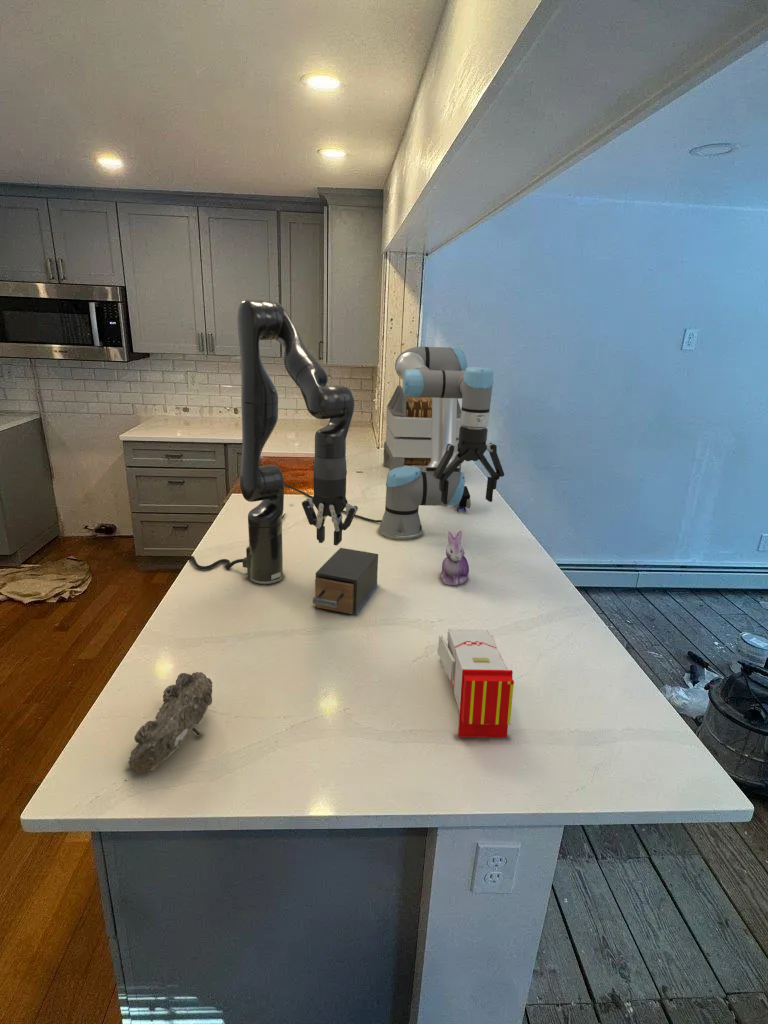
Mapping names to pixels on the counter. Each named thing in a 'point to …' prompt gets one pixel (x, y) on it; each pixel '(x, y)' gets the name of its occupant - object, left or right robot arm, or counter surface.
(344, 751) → the counter surface
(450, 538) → the figurine
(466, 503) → the figurine character
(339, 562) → the cabinet
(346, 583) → the drawer
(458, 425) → the slatted crate
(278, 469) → the left robot arm
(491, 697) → the toy
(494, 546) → the counter surface
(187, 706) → the fossil
